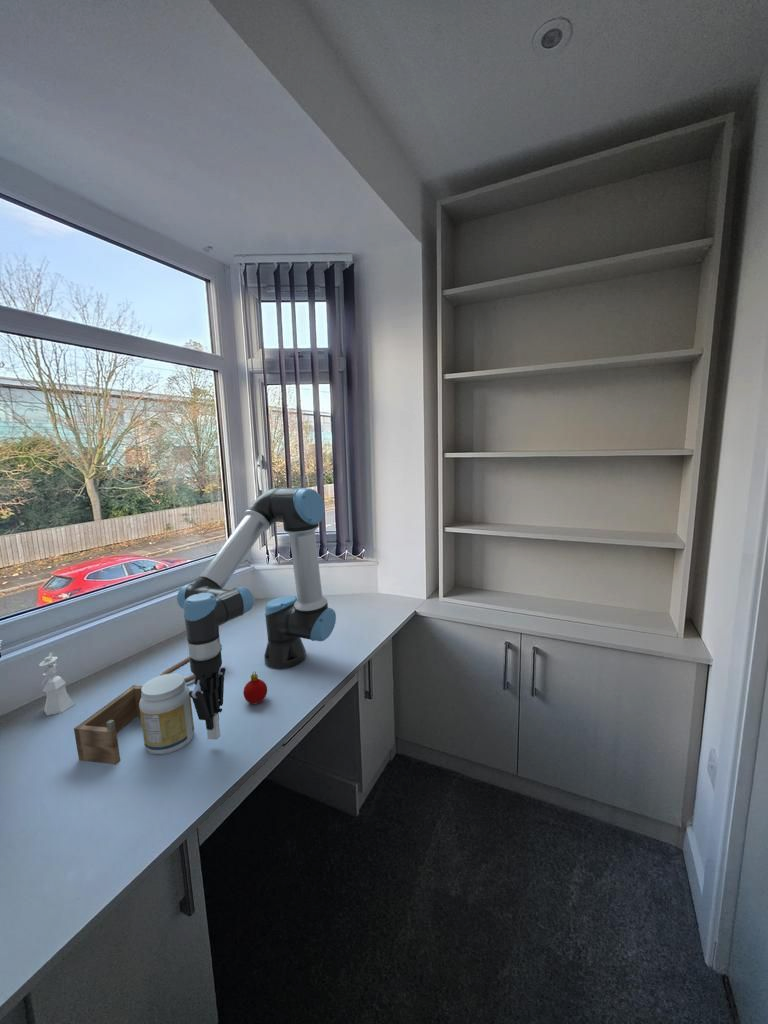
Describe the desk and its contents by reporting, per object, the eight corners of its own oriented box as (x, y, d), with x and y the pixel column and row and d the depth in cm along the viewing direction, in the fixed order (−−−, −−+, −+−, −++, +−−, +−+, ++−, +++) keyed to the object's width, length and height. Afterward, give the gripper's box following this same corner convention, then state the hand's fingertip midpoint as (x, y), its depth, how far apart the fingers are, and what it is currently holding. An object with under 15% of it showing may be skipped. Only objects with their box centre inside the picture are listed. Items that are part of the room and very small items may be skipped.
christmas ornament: (258, 710, 127) (256, 679, 126) (239, 706, 130) (236, 675, 128) (272, 697, 134) (270, 667, 133) (254, 693, 136) (251, 664, 135)
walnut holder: (169, 715, 127) (164, 680, 125) (115, 764, 107) (109, 723, 105) (137, 712, 129) (132, 677, 127) (78, 760, 109) (72, 719, 107)
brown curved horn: (148, 688, 145) (189, 694, 137) (143, 663, 144) (184, 668, 136) (201, 655, 167) (240, 659, 159) (198, 634, 165) (236, 637, 158)
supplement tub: (160, 726, 122) (154, 671, 119) (202, 726, 121) (196, 670, 119) (134, 757, 110) (126, 697, 107) (181, 756, 109) (173, 696, 107)
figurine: (47, 705, 134) (38, 652, 132) (77, 698, 137) (69, 646, 135) (39, 717, 128) (29, 662, 125) (71, 710, 131) (62, 656, 128)
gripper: (206, 641, 116) (215, 720, 120) (175, 666, 103) (186, 753, 107) (232, 643, 115) (239, 722, 118) (203, 667, 102) (213, 756, 105)
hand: (214, 737), depth 112 cm, fingers closed
